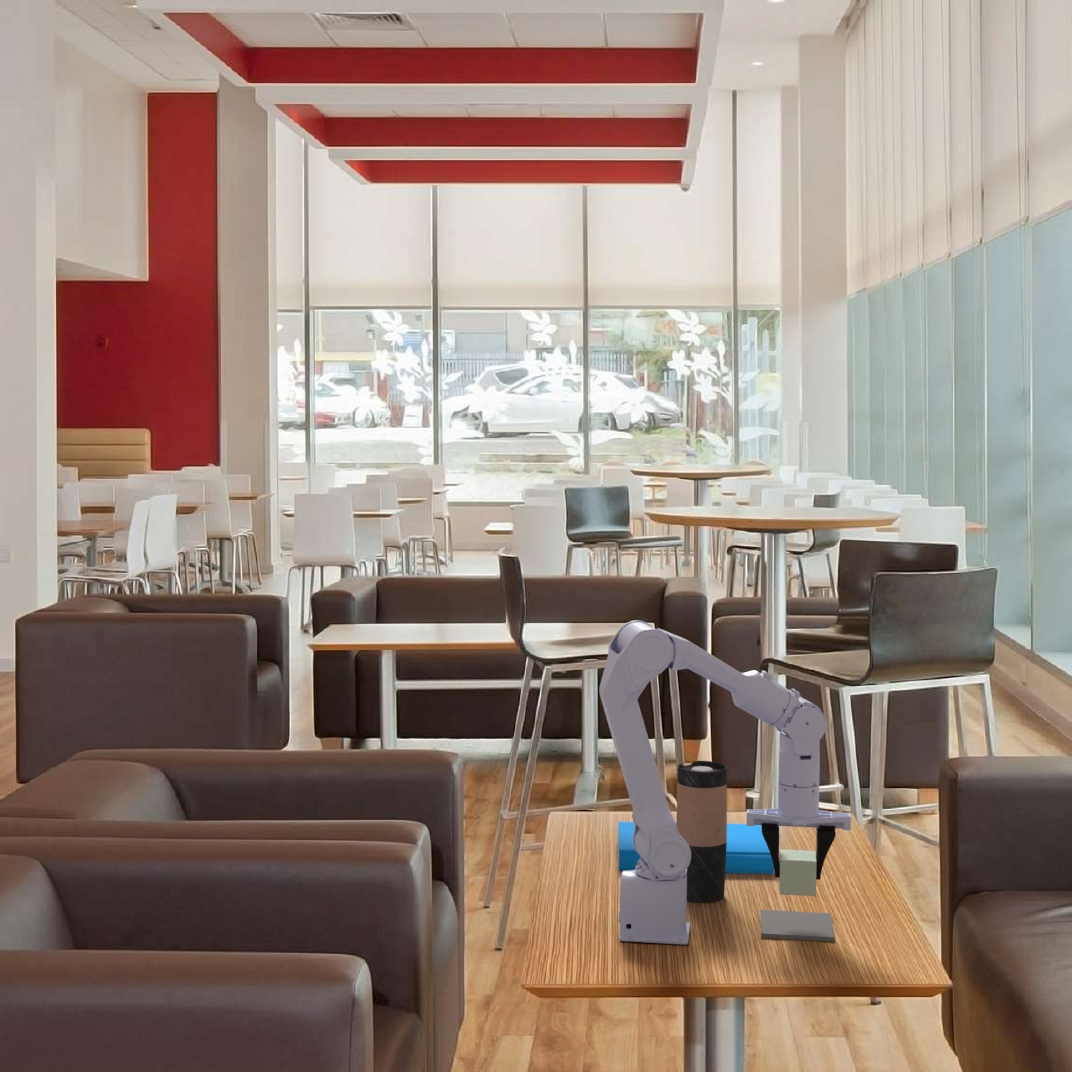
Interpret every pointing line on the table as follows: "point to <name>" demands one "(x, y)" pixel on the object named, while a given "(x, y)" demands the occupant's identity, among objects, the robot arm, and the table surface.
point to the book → (741, 850)
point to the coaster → (796, 925)
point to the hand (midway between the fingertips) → (797, 876)
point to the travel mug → (703, 827)
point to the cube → (797, 872)
